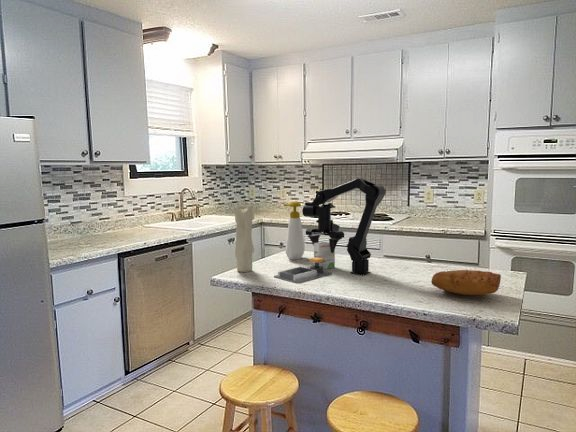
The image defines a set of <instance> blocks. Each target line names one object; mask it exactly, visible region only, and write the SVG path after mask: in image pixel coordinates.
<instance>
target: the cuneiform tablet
mask: <svg viewBox="0 0 576 432" xmlns="http://www.w3.org/2000/svg"><path fill="white" fill-rule="evenodd" d="M431 278H432V279H431V285H432V286H433V287H436V288H437V289H440V290H442V291H445V292H451V293H452V294H453V293H454V294H458V295H466V296H467V295H468V296H479V295H481V296H485V295H490V294H494V293H496V292H498V290H499V288H500V284H501V280H502V279H501V278H502V276H501V274H500V273H495V272H492V271H487V270H486V271H482V270H475V269H474V270H471V269H470V270H468V269H457V270H456V269H455V270H447V271H445V270H443V271H438V272H436V273H435V274H433V275H432V277H431Z"/></svg>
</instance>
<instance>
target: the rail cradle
mask: <svg viewBox="0 0 576 432" xmlns="http://www.w3.org/2000/svg"><path fill="white" fill-rule="evenodd" d="M332 274H333V272H331V271H328V270H324V269H323V266H319V267H315V266H314V265H311V266H310V267H304V266H296V267H293V268H292V267H291V268H288V269H283V270H280V271H278V272H277V274H276V275H273V278H274V279H275V278H276V279H280V280H283V281H288V282H291V283H295V284H302V283H303V282H308V281H312V280H315V279H319V278H322V277H326V276H329V275H332Z"/></svg>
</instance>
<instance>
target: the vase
mask: <svg viewBox="0 0 576 432" xmlns="http://www.w3.org/2000/svg"><path fill="white" fill-rule="evenodd" d="M234 209H235V216H234V220H235V223H236V230H235V251H234V257H235V258H236V269H237V270H236V271H237V272H240V273H246V272H252V271H253V253H254V252H255V248H254V245H253V244H254V243H253V239H252V234H253V233H252V232H253V221H254V219H255V213H254V211H253V204H251V203H250V204H249V205H234Z"/></svg>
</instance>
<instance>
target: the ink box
mask: <svg viewBox="0 0 576 432" xmlns="http://www.w3.org/2000/svg"><path fill="white" fill-rule="evenodd" d="M335 250H336V249H335ZM335 250H334V253H331V250H330V243H329V240H328V241H321V242H318V243H314V245H313V258H315V257H319V258H324V261H323V262H319V266H323V270H326V269H334V268H335V265H336V256H335V255H336V253H335V252H336V251H335ZM313 266H315V262H313Z"/></svg>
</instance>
